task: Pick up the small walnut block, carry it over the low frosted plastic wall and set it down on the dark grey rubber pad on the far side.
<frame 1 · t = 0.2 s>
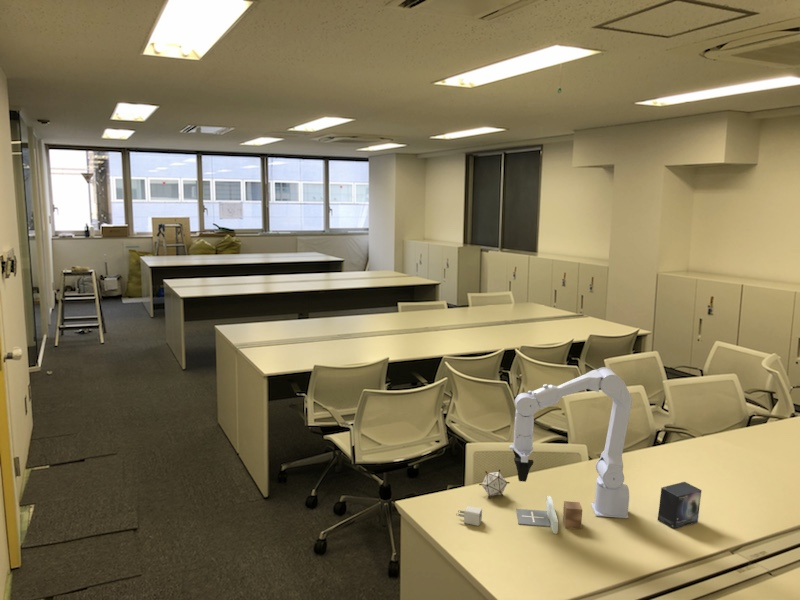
hand: (521, 475, 189), 10 cm above the table, fingers open, 7 cm apart
small box: (677, 522, 184), on the table
usb wall charger: (468, 522, 181), on the table
walnut block: (571, 524, 181), on the table
frosted wall: (551, 519, 183), on the table
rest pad: (532, 518, 184), on the table
game die: (493, 496, 198), on the table
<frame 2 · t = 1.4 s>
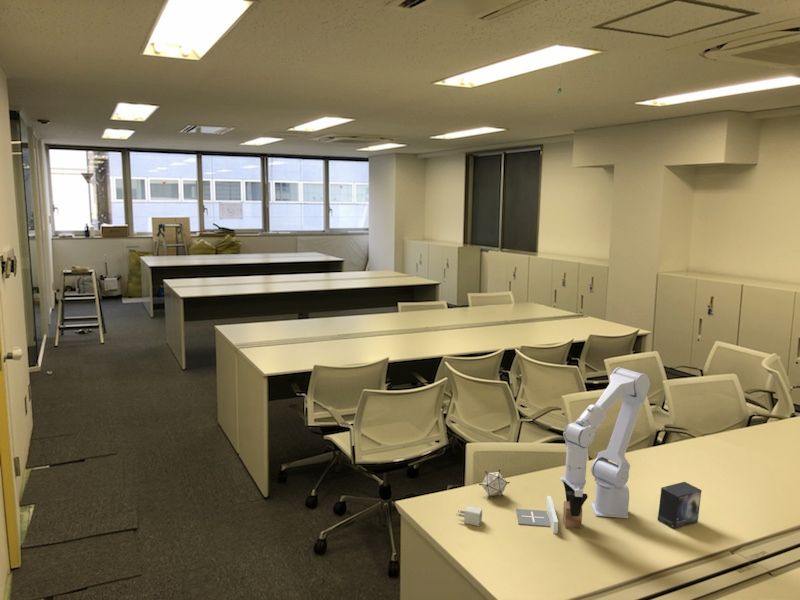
hand: (572, 509, 180), 5 cm above the table, fingers open, 7 cm apart
nothing on the table moved.
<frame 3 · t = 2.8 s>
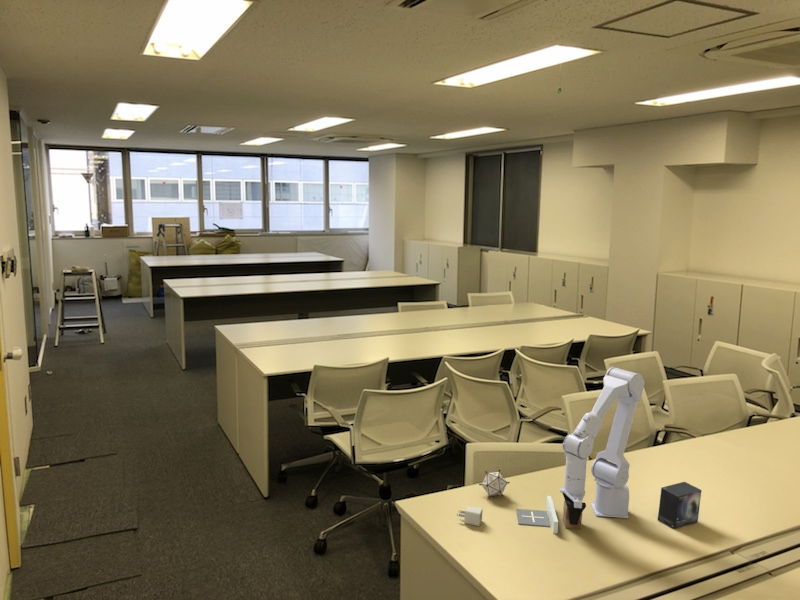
hand: (572, 519, 180), 1 cm above the table, fingers closed on walnut block, 4 cm apart
walnut block: (571, 524, 181), on the table, touching gripper
everything else where it was.
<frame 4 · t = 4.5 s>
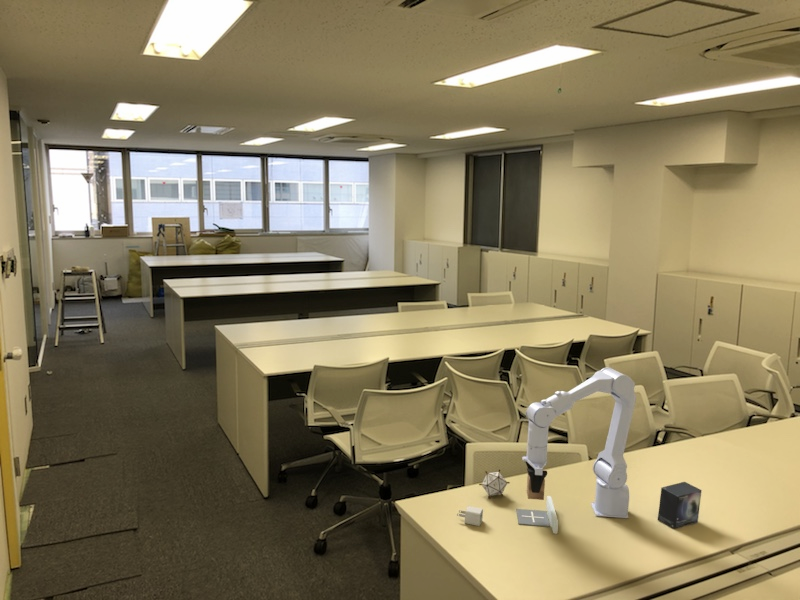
hand: (534, 488, 182), 9 cm above the table, fingers closed on walnut block, 4 cm apart
walnut block: (535, 495, 183), point 7 cm above the table, touching gripper
everything else where it was.
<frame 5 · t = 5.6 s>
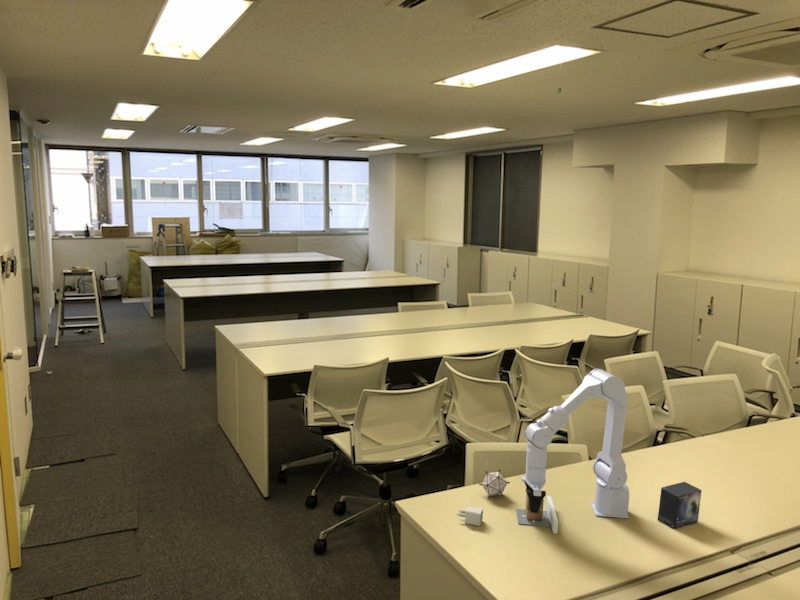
hand: (533, 508, 183), 3 cm above the table, fingers closed on walnut block, 4 cm apart
walnut block: (533, 515, 184), point 1 cm above the table, touching gripper
everything else where it was.
when the fingers open (3 cm above the table, at t = 6.5 s): walnut block stays where it is, resting on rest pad.
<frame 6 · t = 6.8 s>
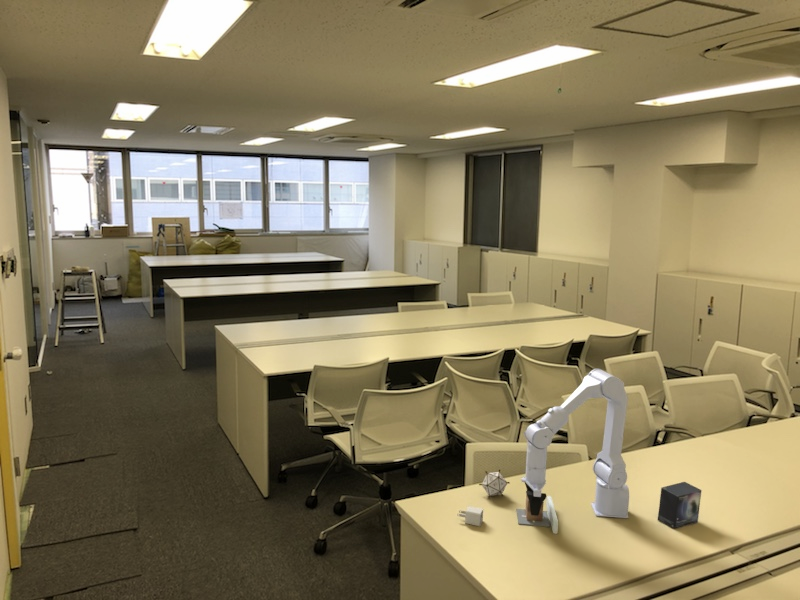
hand: (533, 508, 183), 3 cm above the table, fingers open, 7 cm apart
walnut block: (533, 516, 184), resting on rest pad
everything else where it was.
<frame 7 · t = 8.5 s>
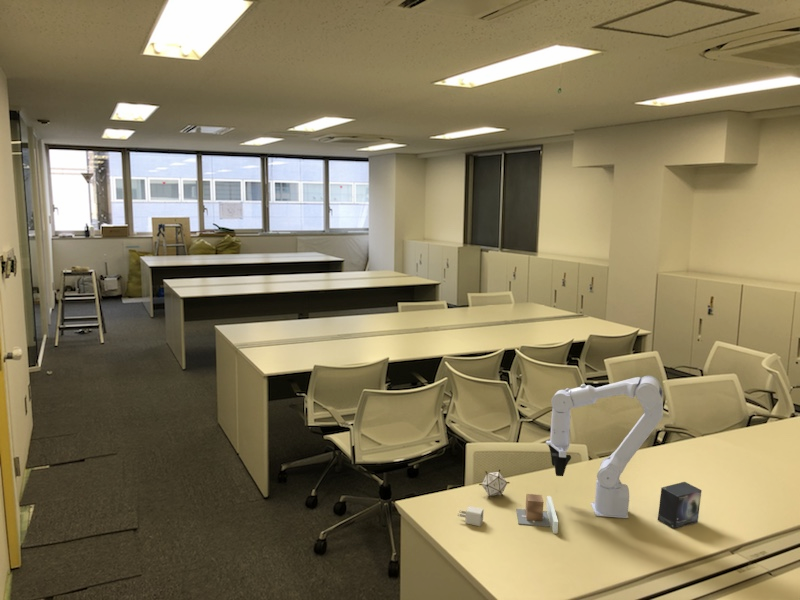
hand: (557, 470, 194), 10 cm above the table, fingers open, 7 cm apart
nothing on the table moved.
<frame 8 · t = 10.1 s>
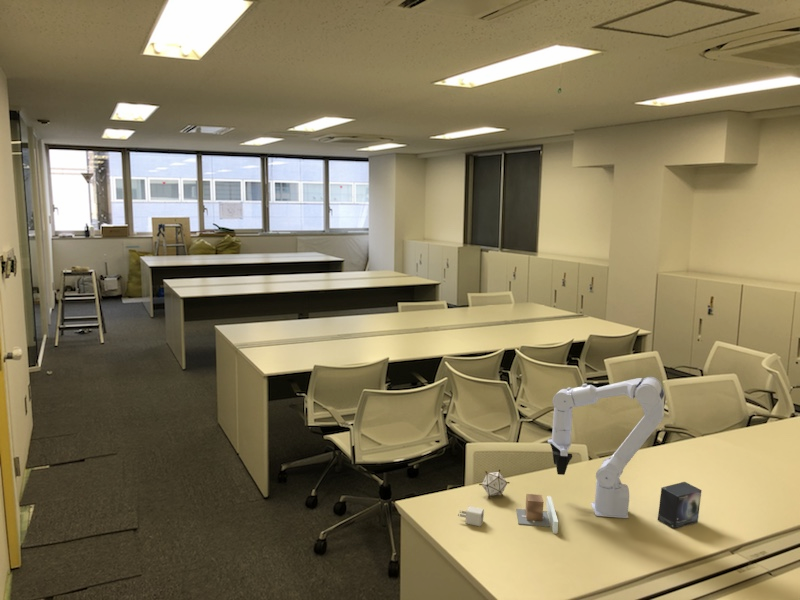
hand: (559, 469, 195), 10 cm above the table, fingers open, 7 cm apart
nothing on the table moved.
at the end: walnut block inside the target area on the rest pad (0.3 cm from its centre), point 0.4 cm above the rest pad's base; walnut block tilted 0°; the gripper is holding nothing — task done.
